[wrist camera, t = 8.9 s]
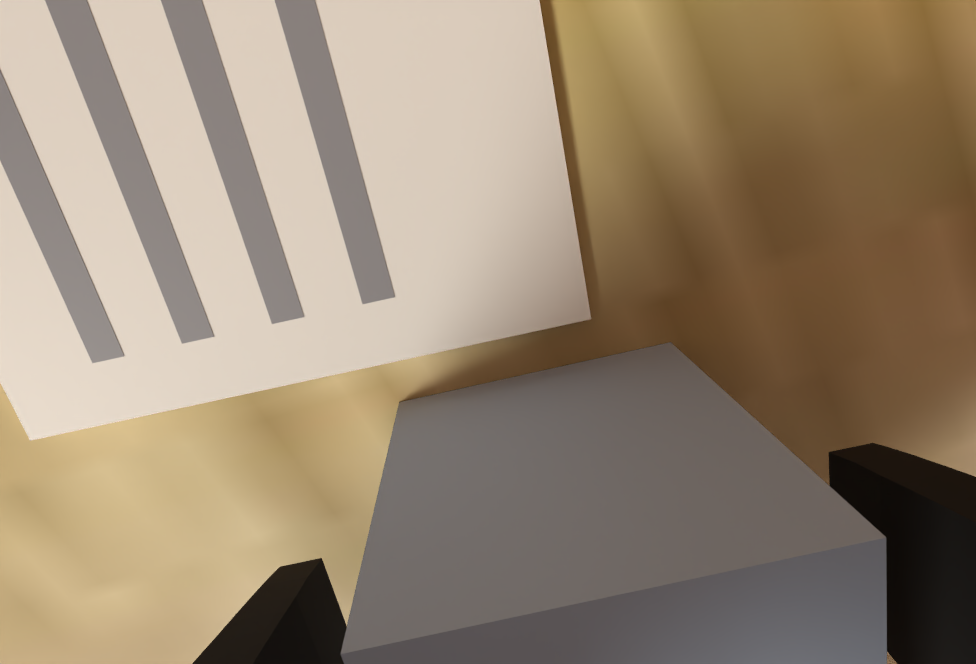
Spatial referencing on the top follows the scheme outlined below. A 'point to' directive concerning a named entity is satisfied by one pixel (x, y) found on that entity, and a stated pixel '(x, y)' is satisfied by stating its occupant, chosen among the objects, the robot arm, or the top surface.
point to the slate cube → (609, 530)
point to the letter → (269, 195)
